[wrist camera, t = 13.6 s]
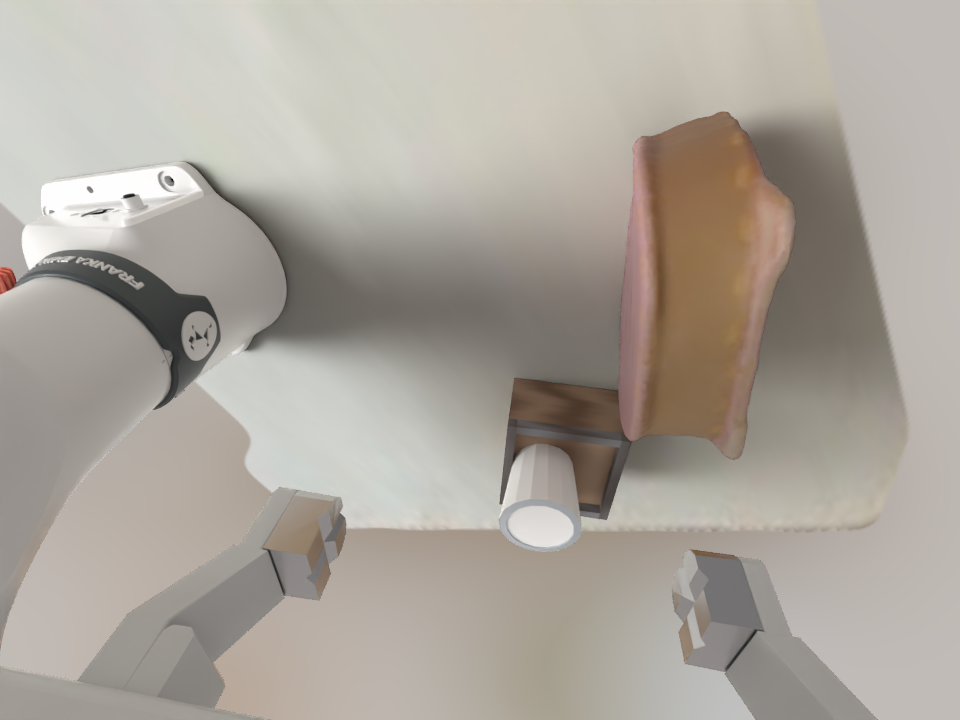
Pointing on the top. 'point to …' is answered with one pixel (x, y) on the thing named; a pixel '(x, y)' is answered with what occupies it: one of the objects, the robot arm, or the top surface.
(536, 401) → the wooden box
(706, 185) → the face sculpture
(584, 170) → the top surface
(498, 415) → the top surface
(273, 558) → the robot arm
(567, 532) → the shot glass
